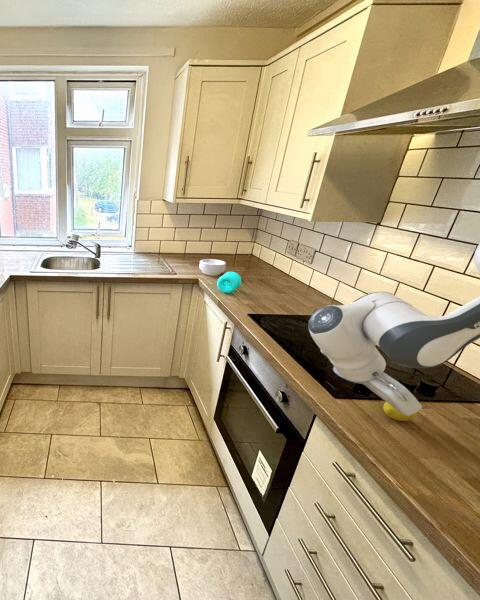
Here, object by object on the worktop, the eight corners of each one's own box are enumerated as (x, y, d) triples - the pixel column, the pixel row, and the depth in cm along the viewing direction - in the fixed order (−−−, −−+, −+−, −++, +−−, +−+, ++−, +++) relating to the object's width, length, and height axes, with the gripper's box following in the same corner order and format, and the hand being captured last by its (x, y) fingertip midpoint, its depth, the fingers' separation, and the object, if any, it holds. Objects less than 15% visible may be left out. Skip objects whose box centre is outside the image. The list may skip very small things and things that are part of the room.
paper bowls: (202, 268, 208) (203, 257, 205) (226, 272, 200) (228, 260, 197) (195, 274, 197) (197, 262, 194) (220, 279, 188) (223, 266, 185)
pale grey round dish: (350, 364, 106) (354, 353, 104) (381, 382, 97) (386, 371, 95) (325, 366, 104) (328, 356, 103) (354, 385, 95) (358, 374, 94)
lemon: (392, 427, 80) (419, 424, 81) (402, 411, 78) (429, 407, 79) (371, 411, 85) (396, 408, 86) (380, 395, 82) (406, 392, 84)
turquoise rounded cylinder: (240, 290, 170) (243, 273, 166) (234, 296, 163) (238, 277, 159) (221, 286, 176) (224, 269, 172) (214, 291, 169) (218, 273, 165)
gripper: (415, 381, 62) (443, 419, 66) (337, 332, 81) (362, 364, 85) (384, 399, 64) (413, 435, 68) (315, 347, 83) (340, 378, 87)
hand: (384, 395), depth 77 cm, fingers closed
